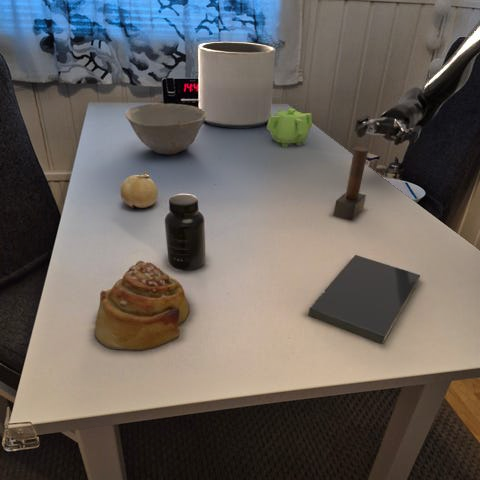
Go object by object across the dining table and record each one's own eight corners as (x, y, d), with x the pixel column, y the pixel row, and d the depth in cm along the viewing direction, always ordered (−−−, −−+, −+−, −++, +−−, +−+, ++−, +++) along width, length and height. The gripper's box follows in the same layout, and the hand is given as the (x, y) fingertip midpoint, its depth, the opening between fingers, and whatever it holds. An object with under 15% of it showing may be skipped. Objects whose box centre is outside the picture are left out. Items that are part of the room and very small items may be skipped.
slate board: (353, 261, 83) (355, 254, 82) (418, 282, 78) (420, 274, 77) (308, 315, 70) (309, 307, 69) (382, 344, 65) (384, 336, 64)
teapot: (311, 140, 141) (315, 107, 135) (301, 150, 133) (305, 115, 127) (276, 135, 145) (278, 102, 138) (264, 144, 136) (266, 110, 130)
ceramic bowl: (116, 159, 121) (111, 120, 115) (145, 135, 139) (142, 100, 133) (195, 167, 119) (194, 127, 113) (214, 141, 137) (214, 106, 131)
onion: (139, 215, 95) (135, 183, 90) (114, 205, 98) (110, 173, 94) (166, 204, 100) (163, 172, 96) (141, 194, 104) (138, 164, 99)
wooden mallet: (345, 204, 103) (357, 142, 95) (363, 209, 101) (377, 146, 93) (333, 215, 99) (344, 151, 90) (352, 220, 97) (365, 155, 88)
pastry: (193, 292, 73) (192, 249, 68) (180, 353, 62) (178, 307, 57) (113, 287, 73) (106, 245, 69) (85, 348, 62) (74, 302, 57)
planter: (231, 134, 143) (233, 55, 129) (184, 117, 157) (181, 44, 144) (285, 122, 157) (292, 49, 143) (237, 107, 171) (239, 40, 158)
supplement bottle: (178, 249, 84) (174, 188, 77) (211, 256, 83) (211, 194, 75) (161, 267, 79) (155, 203, 72) (196, 275, 77) (194, 210, 70)
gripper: (374, 99, 110) (350, 112, 99) (433, 109, 104) (414, 124, 93) (368, 131, 115) (344, 147, 104) (423, 142, 109) (405, 160, 98)
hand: (377, 136), depth 99 cm, fingers open, 8 cm apart
